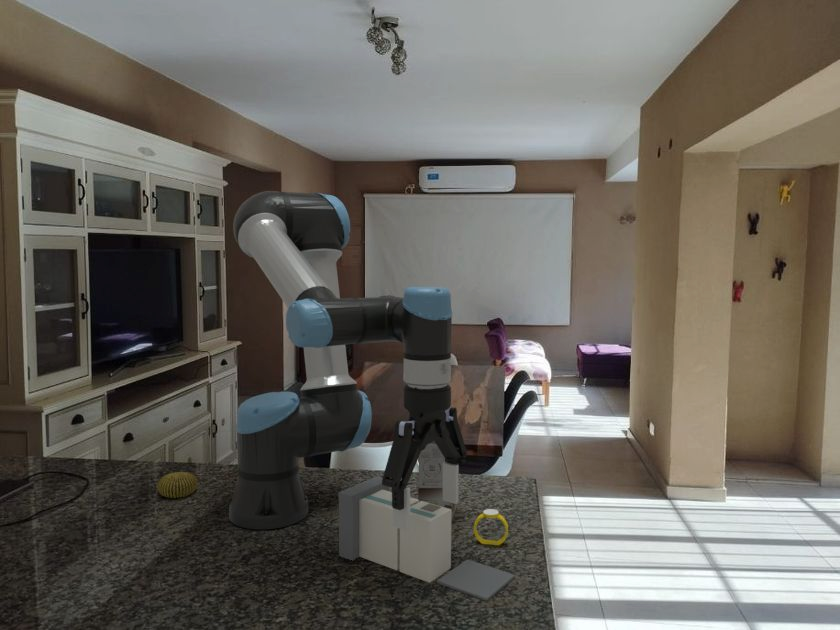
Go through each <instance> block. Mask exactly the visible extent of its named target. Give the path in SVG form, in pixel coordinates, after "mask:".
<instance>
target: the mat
mask: <svg viewBox="0 0 840 630" xmlns="http://www.w3.org/2000/svg"><path fill="white" fill-rule="evenodd" d="M515 578H516V575H515V574H513V573H510V572H509V571H504V570H502V569H498V568H495V567H492V566H489V565H487V564H486V565H485V564H484V563H480V562H477V561H473V560H471V559H465V560H464V561H463V562H461V563H460V564H458V565H457V566H456V567H454V568H453V569H452V570H449V571H448V572H447V573H446V574H444V575H443V576H442V577H440V578H439V579H437V580H436V583H437V584H439V585H441V586H444V587H447V588H449V589H452V590H456V591H458V592H459V593H460V592H461V593H462V594H466V595H469V596H471V597H473V598H476V599H479V600H483V601H484V602H488V601H489V600H490V599H492V598H493V597H494V596H495V595H496V594H498V592H500V591H501V590H502V589H503V588H504V587H506V586H507V585H508V584H509V583H510V582H512V581H513V580H514V579H515Z"/></svg>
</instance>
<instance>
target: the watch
mask: <svg viewBox="0 0 840 630" xmlns="http://www.w3.org/2000/svg"><path fill="white" fill-rule="evenodd" d="M484 518H486V519H498V520H500V521H501V523H502V524H503V525H504V528H505V533H504V535H503V536H502V537H501V538H500V539H498V540H492V539H491V540H490V539H484V538H483V537H482V536H481V535H480V534H479V532H478V530H477V526H478V523H479V522H480V521H481V520H482V519H484ZM508 533H509V525H508V521H506V518H505V517H504V516H503V515H501V514H500V511H499V510H497V509H493V508H487V509H484V510H483V511H482V513H480V514H479V515H478V516H477V518H476V520H475V521H474V525H473V534H474V536H475V539H476V540H477V541H478V542H479V543H480V544H481V545H489V546H490V545H491V546H501V545H502V544H503V543H504V542H505V541H506V539H507V537H508Z"/></svg>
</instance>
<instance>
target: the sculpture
mask: <svg viewBox="0 0 840 630" xmlns="http://www.w3.org/2000/svg"><path fill="white" fill-rule="evenodd" d="M158 480H159V481H158V483H157V487H156V488H157V491H158V493H159V494H160V495H161V496H162V497H165V498H168V499H169V498H170V499H178V498H179V499H180V498H184V497H187V496H189V495H192V494H193V493H195V491H196V489H197V488H198V479H197V477H196V476H195V475H194V474H192V473H191V472H187V471H177V472H176V471H175V472H170V473H168V474H166V475H163V476H162V477H161V478H160V479H158Z"/></svg>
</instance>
